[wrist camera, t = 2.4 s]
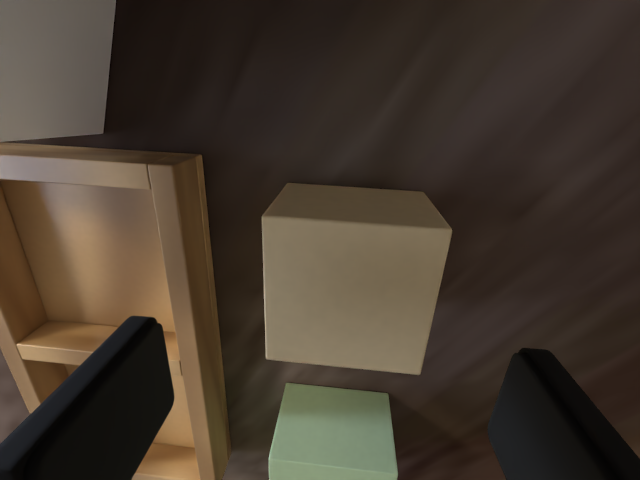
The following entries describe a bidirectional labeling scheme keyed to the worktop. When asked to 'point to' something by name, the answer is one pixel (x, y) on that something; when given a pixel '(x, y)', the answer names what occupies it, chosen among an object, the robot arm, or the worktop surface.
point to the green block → (333, 435)
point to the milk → (54, 67)
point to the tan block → (351, 276)
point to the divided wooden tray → (114, 283)
